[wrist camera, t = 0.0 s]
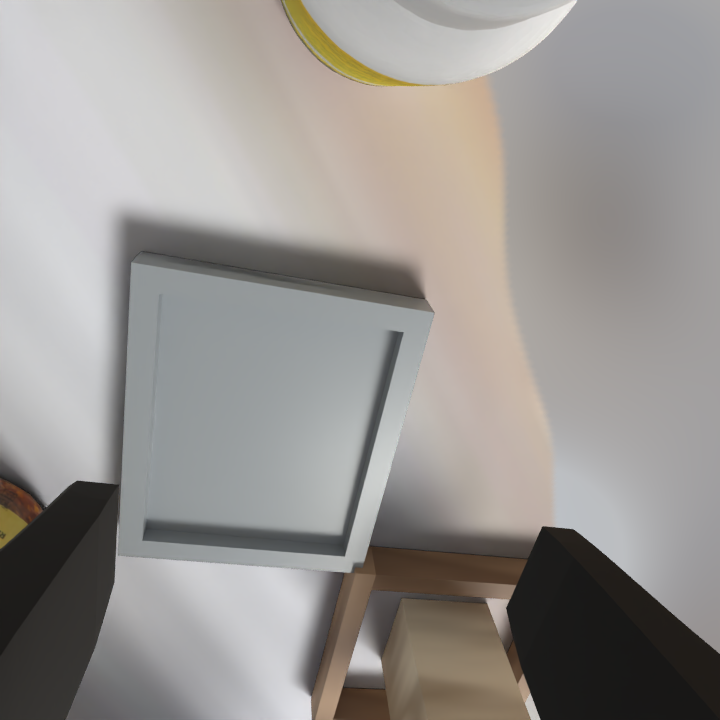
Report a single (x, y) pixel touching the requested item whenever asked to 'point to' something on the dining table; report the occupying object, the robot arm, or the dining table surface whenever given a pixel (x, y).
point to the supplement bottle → (421, 36)
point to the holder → (401, 574)
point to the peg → (448, 664)
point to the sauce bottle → (15, 510)
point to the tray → (260, 414)
